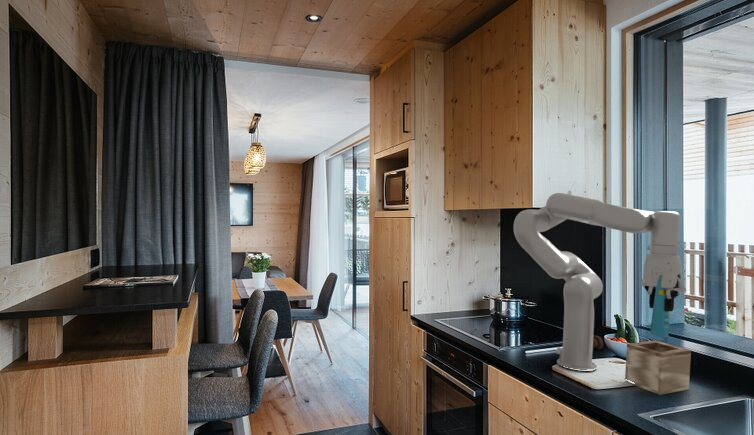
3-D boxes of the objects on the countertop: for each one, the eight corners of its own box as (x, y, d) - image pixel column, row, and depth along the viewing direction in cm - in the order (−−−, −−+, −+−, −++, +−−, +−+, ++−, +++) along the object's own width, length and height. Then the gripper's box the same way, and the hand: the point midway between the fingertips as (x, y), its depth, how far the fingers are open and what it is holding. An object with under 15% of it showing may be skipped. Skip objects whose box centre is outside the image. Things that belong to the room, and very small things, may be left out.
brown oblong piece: (569, 356, 183) (595, 351, 190) (578, 353, 179) (605, 348, 186) (563, 341, 186) (589, 336, 193) (572, 337, 182) (599, 333, 189)
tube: (665, 339, 145) (669, 275, 145) (647, 335, 148) (651, 273, 148) (670, 334, 151) (674, 274, 150) (652, 331, 154) (656, 272, 153)
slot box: (624, 381, 152) (626, 343, 152) (653, 376, 158) (655, 340, 158) (660, 394, 142) (662, 354, 141) (688, 389, 147) (691, 350, 147)
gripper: (631, 248, 155) (628, 304, 155) (683, 253, 140) (680, 316, 140) (646, 248, 158) (643, 303, 158) (699, 253, 143) (696, 314, 143)
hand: (660, 308), depth 149 cm, fingers closed on tube, 4 cm apart
